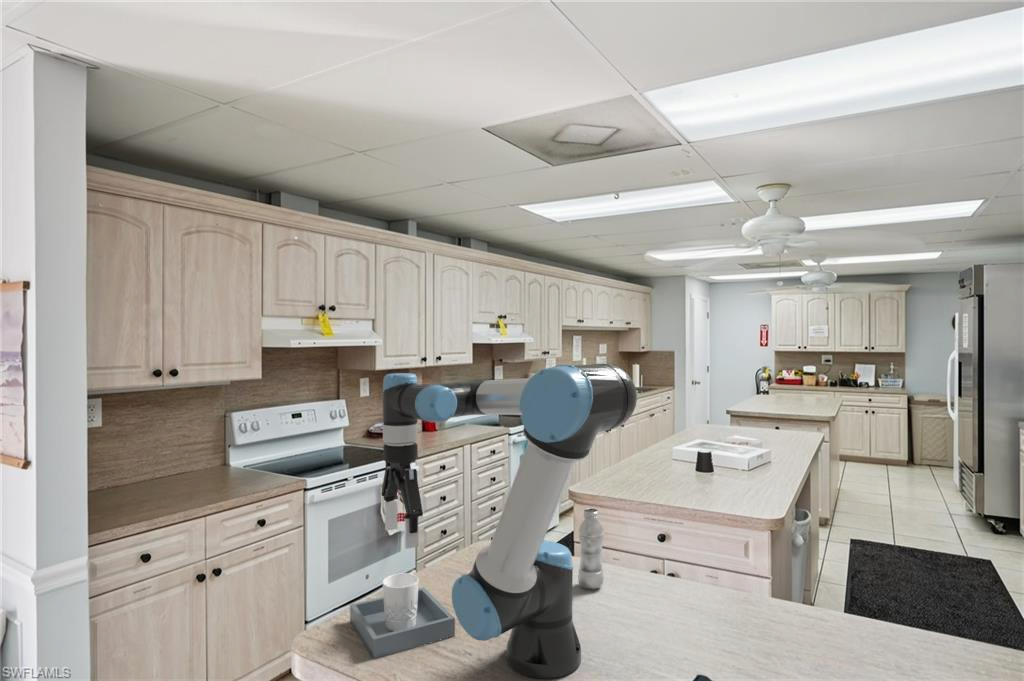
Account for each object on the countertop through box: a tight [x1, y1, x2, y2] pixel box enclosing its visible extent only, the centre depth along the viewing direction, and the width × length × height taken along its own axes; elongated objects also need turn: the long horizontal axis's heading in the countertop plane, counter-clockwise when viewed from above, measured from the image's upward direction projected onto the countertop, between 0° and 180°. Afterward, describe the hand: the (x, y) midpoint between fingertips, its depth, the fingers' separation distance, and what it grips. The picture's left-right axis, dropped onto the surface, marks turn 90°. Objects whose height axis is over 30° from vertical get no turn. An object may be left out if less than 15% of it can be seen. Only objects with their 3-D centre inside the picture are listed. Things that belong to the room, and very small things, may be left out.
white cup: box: [382, 572, 420, 632], centre depth 131 cm, size 8×8×10 cm
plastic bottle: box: [577, 508, 605, 590], centre depth 153 cm, size 6×7×20 cm
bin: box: [349, 587, 456, 660], centre depth 132 cm, size 18×18×4 cm
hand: (401, 538), depth 131 cm, fingers open, 13 cm apart
